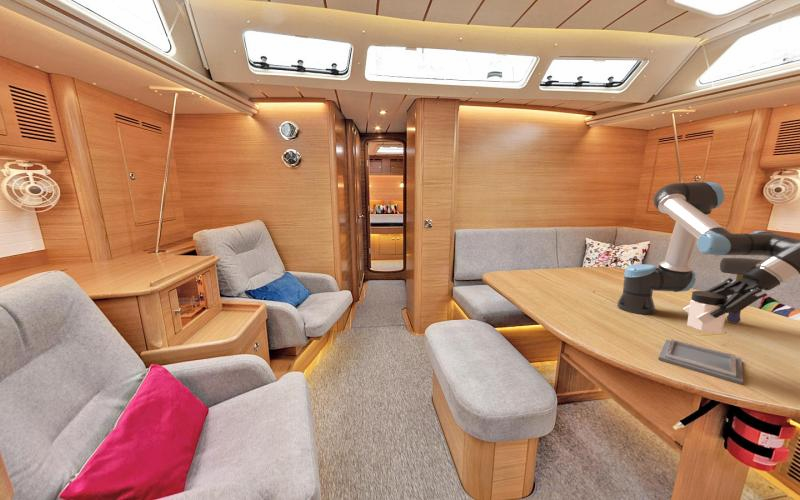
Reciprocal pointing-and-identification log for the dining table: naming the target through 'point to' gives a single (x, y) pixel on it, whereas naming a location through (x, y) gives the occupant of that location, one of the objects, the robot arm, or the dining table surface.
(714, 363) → the board
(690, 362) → the tray
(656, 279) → the robot arm
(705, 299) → the jar
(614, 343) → the dining table surface
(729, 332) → the dining table surface
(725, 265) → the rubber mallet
